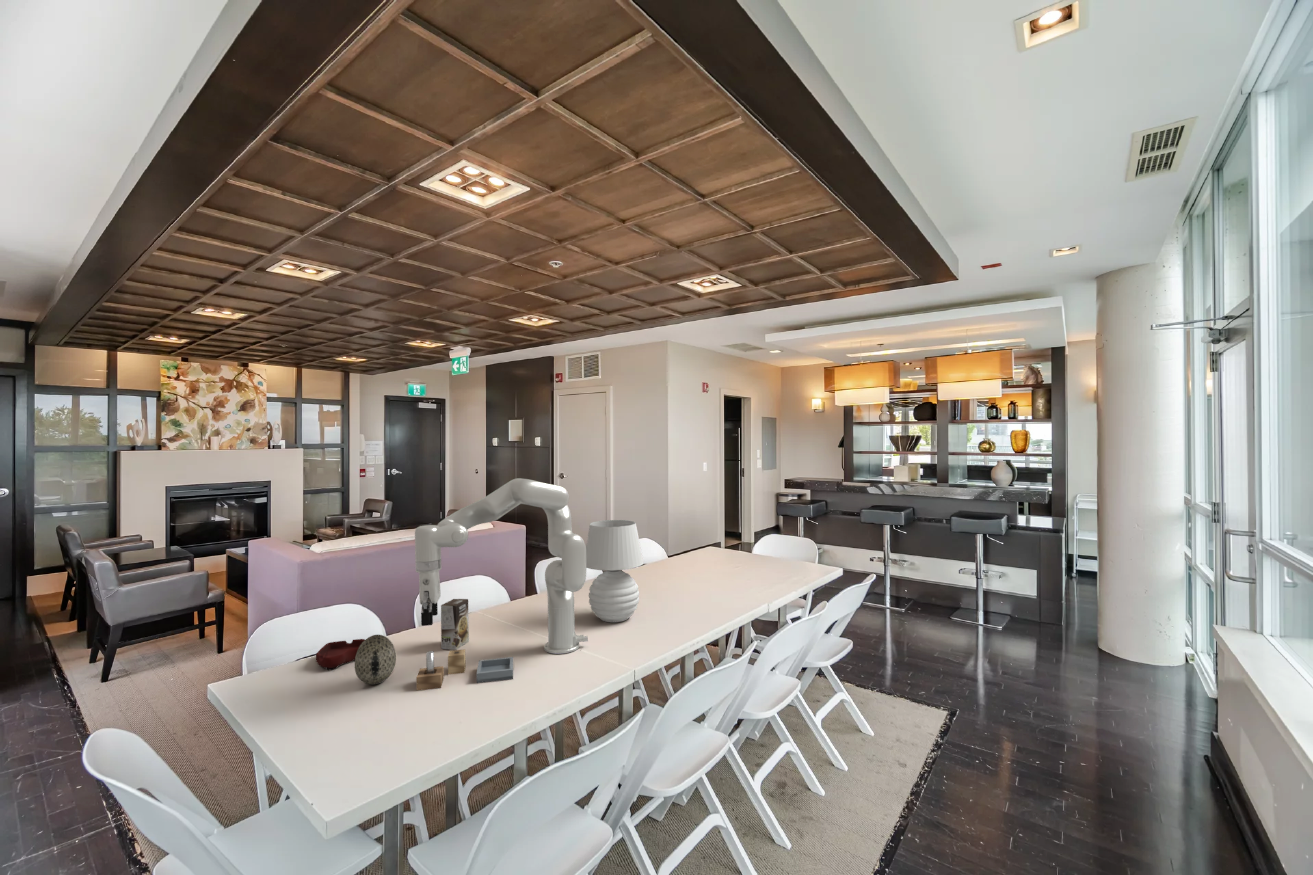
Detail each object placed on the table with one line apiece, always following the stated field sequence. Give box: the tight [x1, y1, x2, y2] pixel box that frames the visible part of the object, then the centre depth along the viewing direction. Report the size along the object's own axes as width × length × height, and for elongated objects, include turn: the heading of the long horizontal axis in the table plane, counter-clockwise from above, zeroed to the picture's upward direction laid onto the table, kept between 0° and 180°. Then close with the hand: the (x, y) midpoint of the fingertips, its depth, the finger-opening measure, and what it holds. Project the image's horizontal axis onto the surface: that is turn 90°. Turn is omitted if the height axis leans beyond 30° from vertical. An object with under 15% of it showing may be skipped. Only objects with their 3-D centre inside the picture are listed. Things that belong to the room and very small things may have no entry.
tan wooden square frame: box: [415, 665, 445, 692], centre depth 179 cm, size 7×7×4 cm
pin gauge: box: [425, 650, 435, 674], centre depth 179 cm, size 2×2×10 cm
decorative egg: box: [354, 634, 397, 685], centre depth 181 cm, size 12×12×15 cm
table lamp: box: [585, 519, 645, 623], centre depth 241 cm, size 25×25×40 cm
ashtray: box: [315, 638, 366, 671], centre depth 201 cm, size 18×16×5 cm
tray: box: [476, 656, 514, 684], centre depth 186 cm, size 11×11×3 cm
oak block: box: [447, 648, 467, 675], centre depth 189 cm, size 5×5×6 cm
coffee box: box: [440, 598, 470, 651], centre depth 213 cm, size 9×6×16 cm
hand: (429, 620), depth 179 cm, fingers open, 9 cm apart
